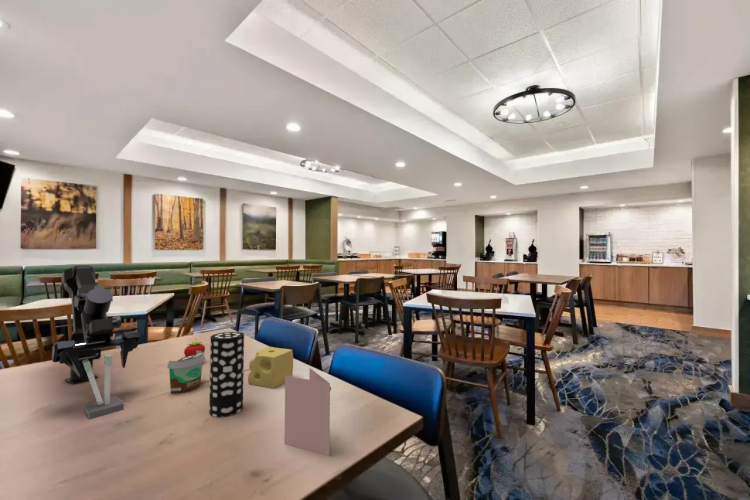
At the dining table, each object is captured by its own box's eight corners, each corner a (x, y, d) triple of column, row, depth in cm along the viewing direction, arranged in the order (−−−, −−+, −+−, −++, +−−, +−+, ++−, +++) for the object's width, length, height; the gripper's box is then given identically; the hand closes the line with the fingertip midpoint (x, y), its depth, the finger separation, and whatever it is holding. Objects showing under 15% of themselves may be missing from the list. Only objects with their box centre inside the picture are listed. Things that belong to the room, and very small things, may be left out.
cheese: (247, 384, 106) (248, 353, 106) (269, 373, 116) (270, 345, 116) (273, 389, 102) (274, 357, 102) (294, 378, 112) (294, 348, 112)
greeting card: (333, 454, 69) (333, 382, 69) (299, 466, 65) (299, 390, 65) (312, 430, 78) (313, 367, 78) (281, 439, 74) (282, 372, 74)
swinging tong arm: (96, 403, 88) (82, 361, 85) (101, 401, 88) (87, 359, 86) (99, 406, 86) (84, 363, 84) (104, 404, 87) (89, 361, 84)
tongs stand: (84, 410, 87) (85, 355, 87) (116, 401, 92) (118, 350, 93) (89, 419, 83) (90, 361, 83) (123, 409, 88) (124, 355, 88)
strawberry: (180, 366, 123) (180, 339, 123) (198, 360, 129) (199, 335, 130) (189, 368, 120) (190, 341, 120) (208, 362, 127) (209, 337, 127)
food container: (184, 397, 96) (185, 363, 96) (166, 395, 97) (167, 361, 97) (213, 381, 108) (213, 351, 108) (197, 380, 109) (197, 350, 109)
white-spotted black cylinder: (249, 405, 91) (250, 333, 91) (227, 419, 83) (228, 340, 83) (225, 400, 93) (227, 330, 94) (201, 414, 86) (203, 337, 86)
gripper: (54, 311, 86) (59, 362, 78) (139, 304, 100) (150, 346, 92) (50, 337, 91) (54, 387, 83) (131, 326, 105) (141, 368, 97)
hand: (103, 371), depth 89 cm, fingers open, 9 cm apart
